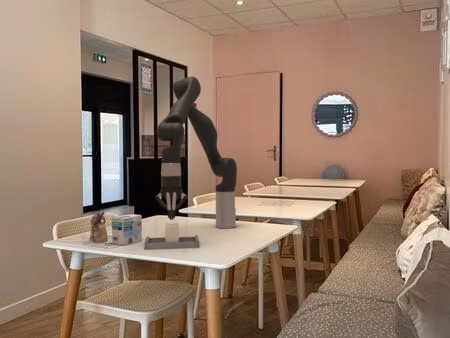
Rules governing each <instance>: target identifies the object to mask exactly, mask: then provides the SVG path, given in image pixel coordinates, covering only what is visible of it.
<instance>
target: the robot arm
mask: <svg viewBox="0 0 450 338" xmlns="http://www.w3.org/2000/svg"><path fill="white" fill-rule="evenodd" d="M200 83H201V82H200V81H199V80H198V78H197V77H196V76H188V77H184V78H181V79H179V80H177V81H175V82H173V84H172V91H173V93H174V96H175V97H176V99H177V101H176V102H174V103H173V104H172V106H171V107H170V110H169V112H168V114H167V116H166V117H165V118H163V119H162V120H161V121H160V122H159V124H158V125H157V128H156V136H157V138H158V139H159V140H160V141H162V142H173V143H172V144H171V146H169V147H167V146H166V147H164V148H162V149H161V168H160V169H161V171H160V175H161V181H160V183H161V189H160V192H159V193H158V194H157V195H155V200H156V201H157V202H158V204H160V206H161V208H163V209H164V210H167V219H169V220H170V221H174V220H175V218H176V210H177V209H180V208H181V206H183V204H184V203H185V201H186V200H187V199H188V194H185V193H184V192H183V189H182V166H181V149H182V144H183V141H184V137H185V132H186V129H185V127H184V124H185V122H186V120H187V119H186V118H188V121H189V122H190V124H191V126H192V128H193V131H194V133H195V134H196V137H197V139H198V140H199V143H200V144H201V147H202V149H203V151H204V153H205V154H206V157H207V161H208V163H209V166H210V168H211V171H212V173H213V174H214V175H215V176H216V177H218V178H221V179H222V180H221V182H220V183H219V184H217V185H215V228H218V229H232V228H233V227H234V228H236V227H237V224H236V221H237V215H236V212H237V211H236V208H237V207H236V199H235V198H236V193H235V192H236V185H237V173H238V167H237V163H236V160H235V159H234V158H231V157H222V155H221V153H220V152H219V150H218V145H217V143H218V131H217V128H216V126H215V124H214V122H213V120H212V119H211V118H210V117H209V116H208V115H206V114H205V113H204V112H202V111H201V110H199V109H198V108H196V106H195V105H194V103H196V101H197V99H198V98H199V96H200V95H201V91H202V89H201V88H202V86H201V84H200ZM162 198H163V199H164V201H166V203H165V202H164V201H163V200H162ZM179 198H180V201H179V202H178V203H177V204H176V201H178V199H179ZM171 201H172V202H171ZM171 203H172V204H171Z"/></svg>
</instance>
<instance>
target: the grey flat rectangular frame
mask: <svg viewBox="0 0 450 338" xmlns="http://www.w3.org/2000/svg"><path fill="white" fill-rule="evenodd" d="M143 246H144V250H164V249H165V250H169V249H195V248H196V249H199V248H200V238H199V235H198V234H195V235H193V236H179V242H174V243H166V239H165V236H164V237H150V236H146V237H145V240H144V242H143Z"/></svg>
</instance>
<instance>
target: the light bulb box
mask: <svg viewBox="0 0 450 338" xmlns="http://www.w3.org/2000/svg"><path fill="white" fill-rule="evenodd" d="M142 217H143V216H142V215H141V214H133V213H129V214H128V213H127V214H124V215H118V216H112V217H111V239H112V241H111V242H112V245H113V244H114V245H119V246H127V245H128V246H129V245H131V244H135V243H139V242H142V241H143V230H142V229H143V228H142V227H143V222H142V221H143V218H142Z"/></svg>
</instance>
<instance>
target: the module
mask: <svg viewBox="0 0 450 338" xmlns="http://www.w3.org/2000/svg"><path fill="white" fill-rule="evenodd" d="M164 231H165V233H164V235H165V236H164V237H165V239H166V243H174V242H179V237H180V236H179V234H180V225H179V223H178V222H170V223H169V222H167V223H165V226H164Z"/></svg>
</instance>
